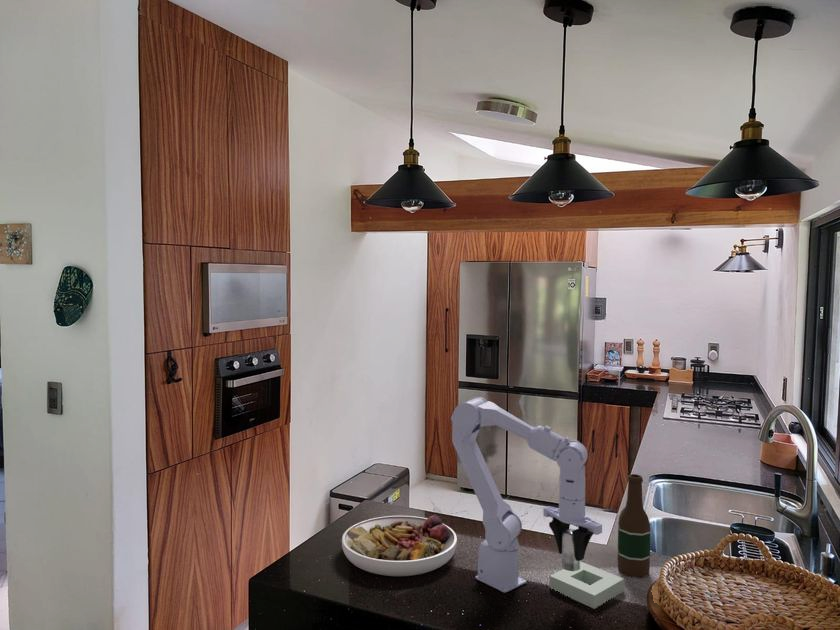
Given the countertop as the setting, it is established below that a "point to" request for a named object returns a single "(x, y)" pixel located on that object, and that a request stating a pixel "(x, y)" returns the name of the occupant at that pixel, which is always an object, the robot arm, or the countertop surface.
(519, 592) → the countertop surface
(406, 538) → the bowl
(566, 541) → the steel peg
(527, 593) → the countertop surface
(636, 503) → the beer bottle
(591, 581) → the hole block
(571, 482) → the robot arm
